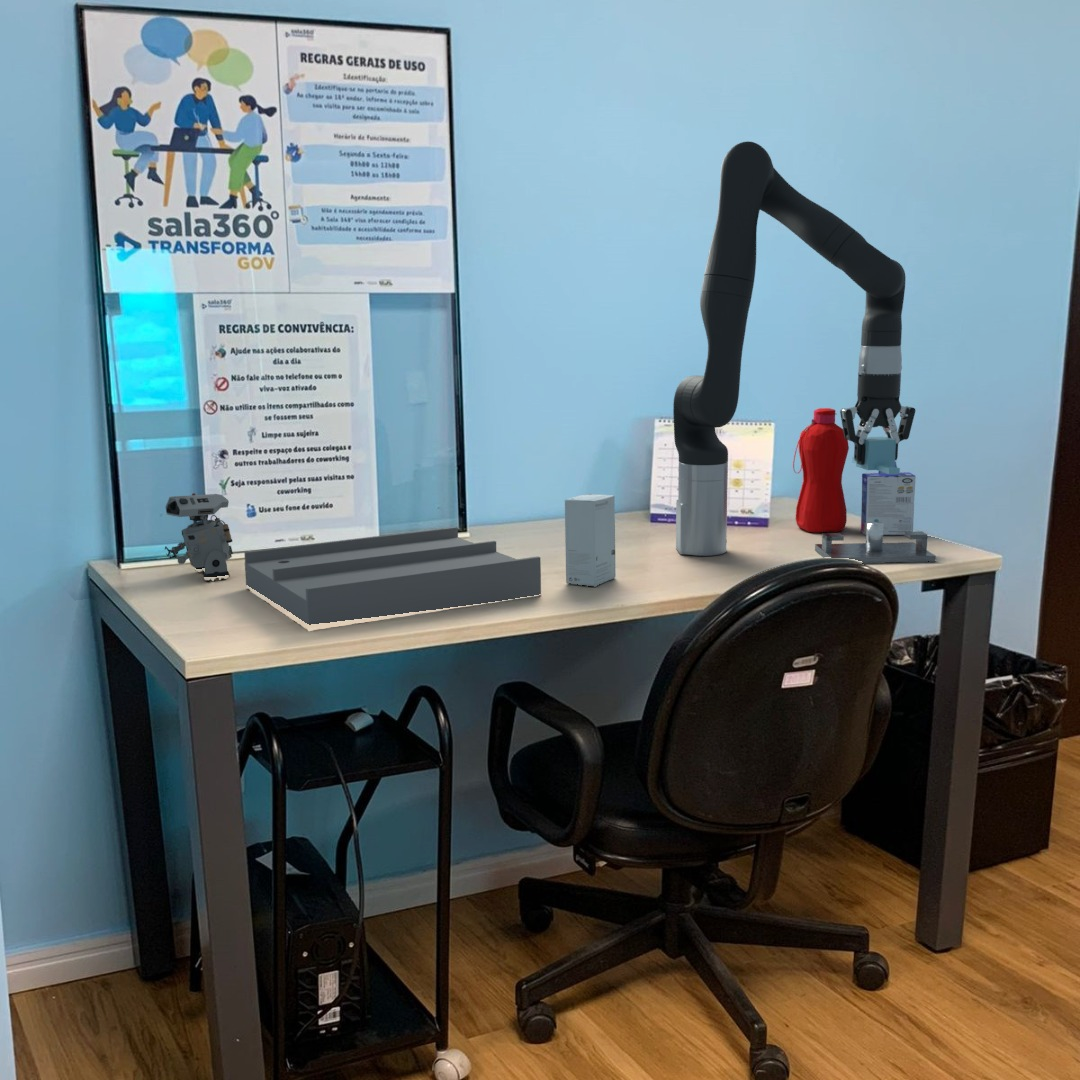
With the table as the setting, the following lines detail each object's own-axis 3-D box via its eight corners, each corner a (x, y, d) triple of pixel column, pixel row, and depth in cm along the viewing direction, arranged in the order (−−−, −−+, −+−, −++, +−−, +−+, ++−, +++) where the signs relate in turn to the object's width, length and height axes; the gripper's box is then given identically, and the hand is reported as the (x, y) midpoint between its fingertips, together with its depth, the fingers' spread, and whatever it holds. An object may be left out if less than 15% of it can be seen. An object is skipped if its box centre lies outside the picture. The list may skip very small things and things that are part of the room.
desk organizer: (541, 598, 203) (540, 557, 202) (309, 634, 184) (306, 589, 182) (456, 563, 230) (455, 526, 229) (246, 591, 210) (243, 551, 209)
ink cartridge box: (907, 530, 253) (910, 460, 250) (914, 535, 247) (918, 464, 244) (858, 530, 253) (861, 460, 250) (865, 536, 248) (868, 464, 245)
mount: (831, 564, 223) (833, 530, 222) (814, 550, 235) (816, 518, 234) (935, 562, 224) (937, 528, 223) (913, 548, 236) (914, 516, 234)
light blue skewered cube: (844, 462, 234) (845, 434, 233) (869, 461, 235) (871, 433, 234) (880, 474, 219) (881, 444, 218) (907, 473, 220) (909, 443, 219)
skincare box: (595, 588, 208) (594, 501, 205) (563, 584, 211) (562, 498, 208) (617, 577, 215) (616, 493, 212) (586, 574, 218) (585, 491, 215)
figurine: (162, 575, 221) (156, 493, 218) (227, 568, 226) (222, 488, 223) (171, 586, 213) (165, 501, 210) (238, 578, 218) (233, 495, 215)
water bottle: (783, 526, 258) (786, 407, 253) (832, 524, 260) (836, 405, 255) (800, 535, 249) (803, 411, 244) (851, 532, 251) (855, 409, 246)
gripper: (907, 369, 228) (902, 459, 232) (834, 370, 226) (830, 462, 229) (926, 371, 221) (921, 465, 224) (850, 373, 219) (846, 467, 222)
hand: (875, 463), depth 227 cm, fingers closed on light blue skewered cube, 5 cm apart
